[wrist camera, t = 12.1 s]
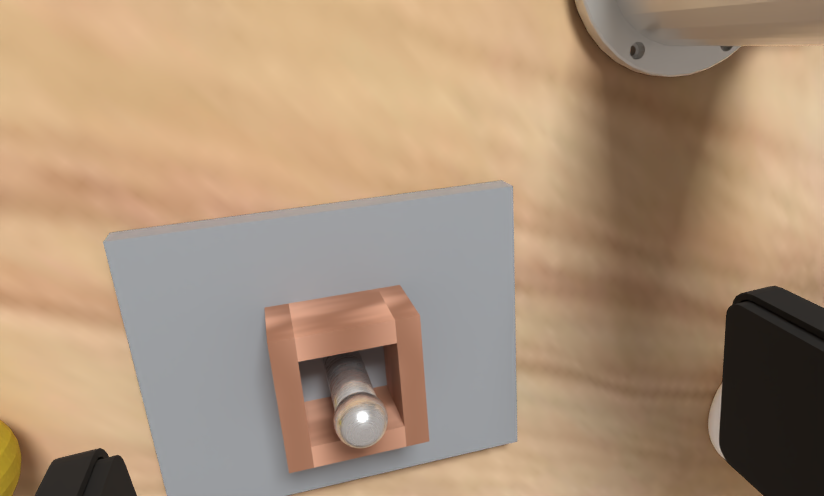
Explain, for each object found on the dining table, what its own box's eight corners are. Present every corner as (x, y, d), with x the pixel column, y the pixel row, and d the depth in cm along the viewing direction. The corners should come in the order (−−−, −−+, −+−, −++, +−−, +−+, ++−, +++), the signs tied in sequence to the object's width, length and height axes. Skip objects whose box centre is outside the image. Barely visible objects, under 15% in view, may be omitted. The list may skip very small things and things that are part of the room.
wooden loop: (399, 284, 32) (420, 315, 28) (409, 399, 34) (429, 441, 31) (264, 307, 30) (267, 342, 27) (284, 425, 33) (289, 473, 29)
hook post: (360, 332, 32) (391, 405, 26) (365, 371, 33) (395, 452, 26) (315, 340, 32) (334, 417, 25) (321, 380, 32) (340, 465, 26)
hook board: (501, 180, 33) (512, 186, 32) (507, 427, 38) (517, 441, 37) (109, 232, 29) (103, 241, 28) (176, 503, 34) (173, 522, 33)
